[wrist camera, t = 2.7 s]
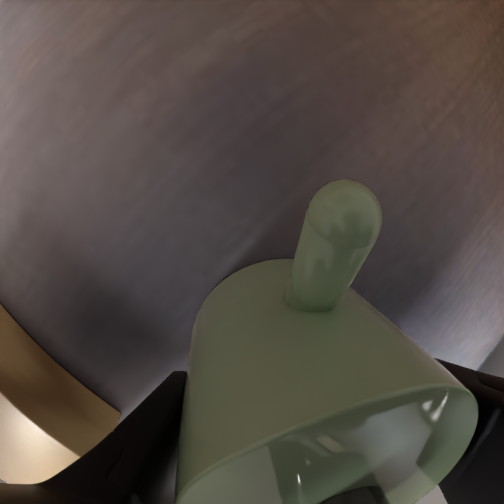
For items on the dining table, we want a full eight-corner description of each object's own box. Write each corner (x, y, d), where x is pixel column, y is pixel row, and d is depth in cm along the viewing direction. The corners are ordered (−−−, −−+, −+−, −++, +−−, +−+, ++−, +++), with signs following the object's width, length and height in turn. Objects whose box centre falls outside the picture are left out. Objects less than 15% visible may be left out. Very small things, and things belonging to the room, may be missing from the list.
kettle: (343, 413, 12) (414, 545, 4) (206, 430, 11) (212, 592, 4) (366, 182, 10) (589, 208, 2) (176, 185, 9) (-2, 202, 1)
